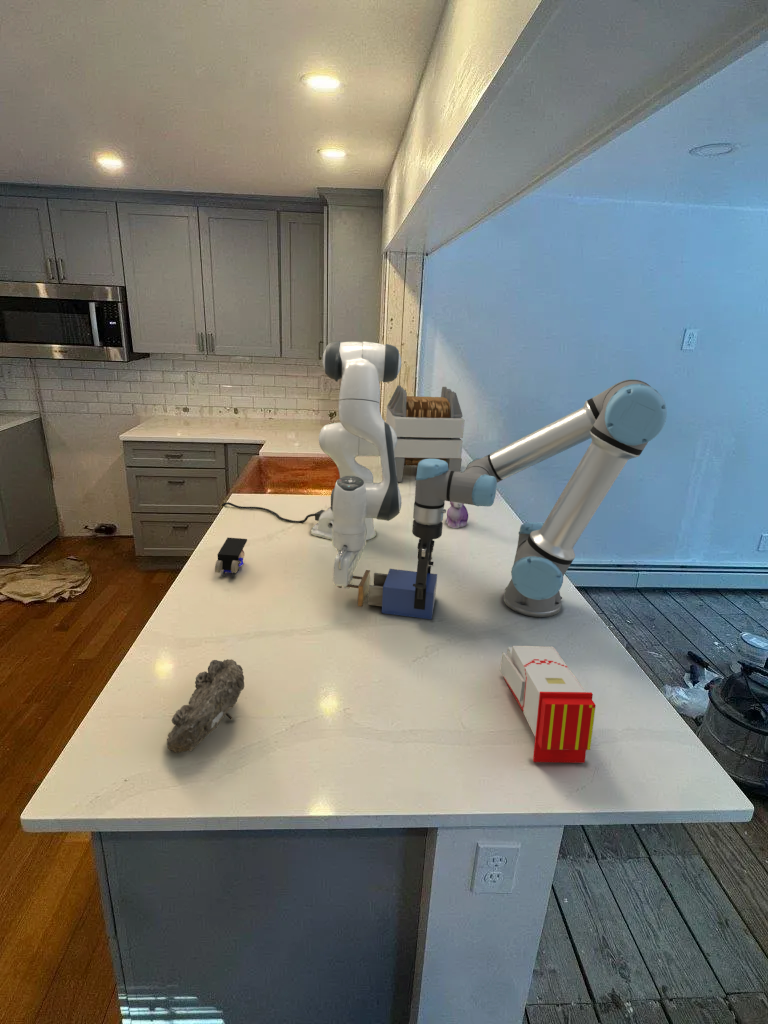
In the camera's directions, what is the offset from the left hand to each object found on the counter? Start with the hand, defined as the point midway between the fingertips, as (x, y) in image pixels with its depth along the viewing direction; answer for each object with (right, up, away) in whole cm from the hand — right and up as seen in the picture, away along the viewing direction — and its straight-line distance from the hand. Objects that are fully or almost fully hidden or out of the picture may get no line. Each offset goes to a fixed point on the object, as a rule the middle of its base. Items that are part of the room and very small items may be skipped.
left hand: (347, 586), depth 153 cm
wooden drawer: (+7, -3, 0) cm, 7 cm away
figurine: (+37, +15, +58) cm, 71 cm away
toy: (+40, -20, -39) cm, 60 cm away
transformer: (+27, +39, +122) cm, 131 cm away
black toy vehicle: (-35, +3, +15) cm, 38 cm away
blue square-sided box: (+16, -5, -1) cm, 17 cm away
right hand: (+20, -3, -3) cm, 20 cm away
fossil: (-23, -19, -45) cm, 54 cm away
